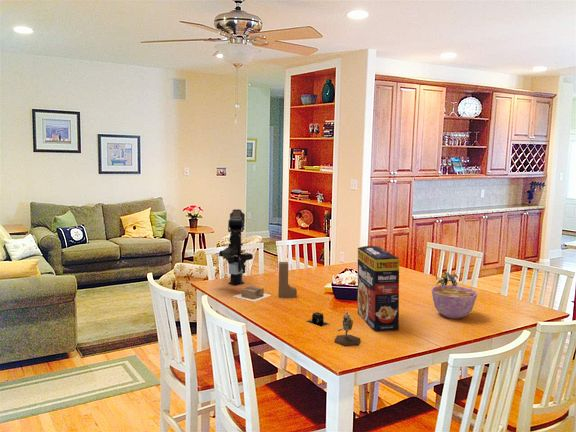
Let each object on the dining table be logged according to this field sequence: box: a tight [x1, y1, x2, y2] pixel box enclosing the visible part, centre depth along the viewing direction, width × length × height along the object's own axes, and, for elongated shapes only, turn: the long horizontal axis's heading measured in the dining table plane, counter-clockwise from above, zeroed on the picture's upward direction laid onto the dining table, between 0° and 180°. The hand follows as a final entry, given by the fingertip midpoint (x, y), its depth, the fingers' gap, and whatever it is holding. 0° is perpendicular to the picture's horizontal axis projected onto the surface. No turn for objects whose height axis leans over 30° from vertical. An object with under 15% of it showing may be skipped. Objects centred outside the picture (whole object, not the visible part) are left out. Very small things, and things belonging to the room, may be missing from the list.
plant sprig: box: [435, 270, 459, 286], centre depth 278 cm, size 11×11×12 cm
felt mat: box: [232, 293, 271, 302], centre depth 254 cm, size 14×14×1 cm
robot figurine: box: [333, 312, 361, 347], centre depth 194 cm, size 11×9×12 cm
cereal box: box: [357, 245, 400, 332], centre depth 217 cm, size 27×11×32 cm, turn 8°
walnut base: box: [240, 285, 265, 300], centre depth 252 cm, size 8×8×4 cm
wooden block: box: [277, 261, 298, 299], centre depth 253 cm, size 9×4×18 cm, turn 95°
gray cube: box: [228, 262, 243, 275], centre depth 261 cm, size 5×5×5 cm
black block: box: [305, 311, 330, 327], centre depth 216 cm, size 12×7×5 cm, turn 43°
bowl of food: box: [431, 285, 478, 319], centre depth 229 cm, size 20×20×12 cm
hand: (235, 271), depth 261 cm, fingers closed on gray cube, 5 cm apart
